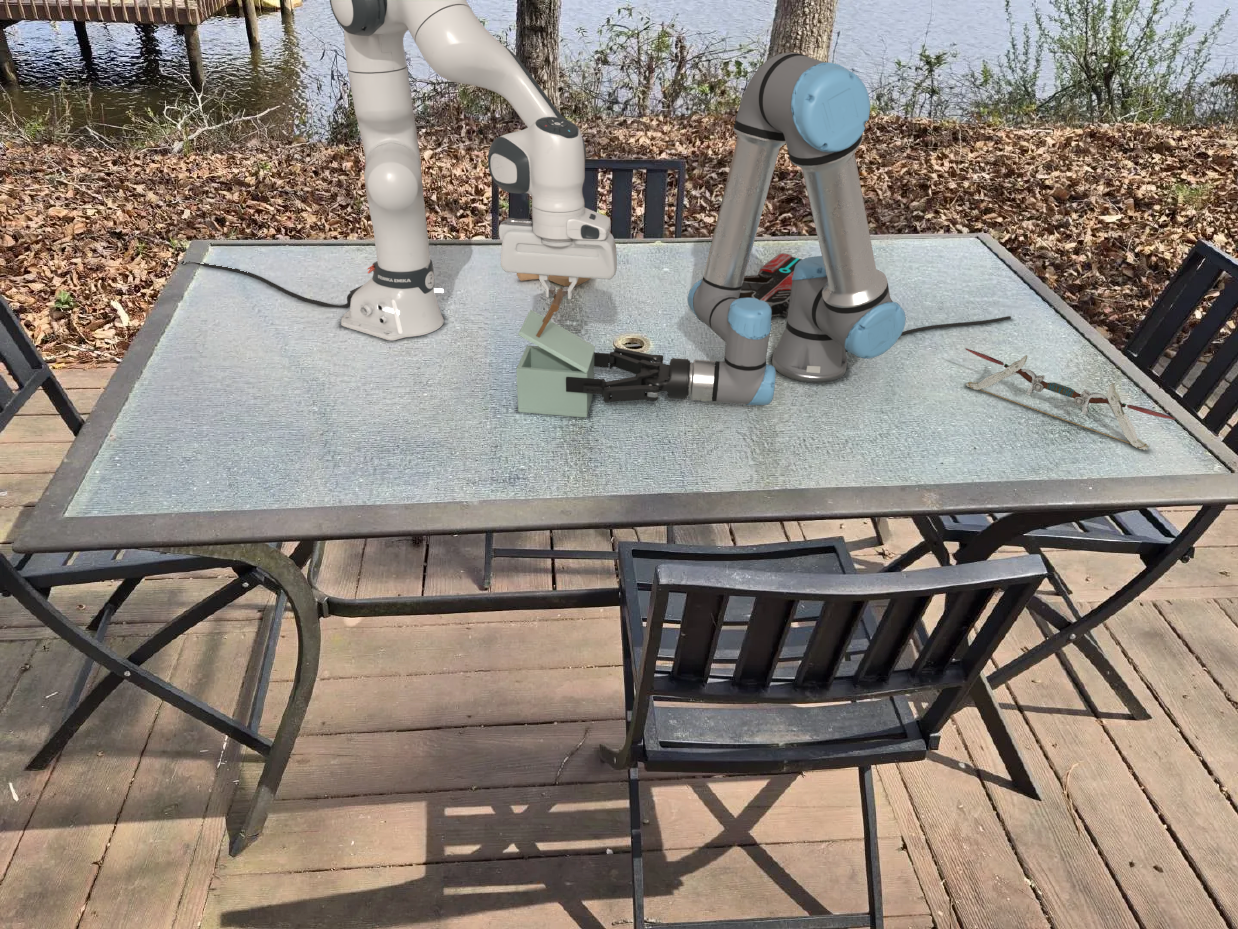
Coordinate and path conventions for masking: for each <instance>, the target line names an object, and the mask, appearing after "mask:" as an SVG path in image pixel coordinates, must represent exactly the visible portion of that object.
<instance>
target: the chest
mask: <svg viewBox="0 0 1238 929" xmlns="http://www.w3.org/2000/svg"><path fill="white" fill-rule="evenodd" d="M518 362H519V363H518V365H517V367H516V368H515V370H516V371H515V372H516V391H517V392H516V394H517V412H518V413H525V414H537V415H538V414H539V415H550V416H561V417H576V418H588V415H589V411H590V408H591V404H592V401H593V397H594V394H590V393H578V392H566V377H578V378H592V379H595V367H594V353H593V356H592V359H591V363H590V366H589V369H588V371H587V373H585V372H583V371H581V370H579V369H578V368H576V367H574V366H572V365H570V364H569V363H567V362H565V361H563V360H562V359H560V358H558V357H556V356H555V355H553V354H551V353H549V352H547V351H546V350H544V349H542V348H540V347H539V346H537V345H526V347H525V349H524V351H523V354H522V356H521V358H520V359H519V361H518Z"/></svg>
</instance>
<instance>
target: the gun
mask: <svg viewBox="0 0 1238 929" xmlns="http://www.w3.org/2000/svg"><path fill="white" fill-rule="evenodd" d="M800 260H802V258H799V257H795V256H793V255H792V254H791V253H784V252H780V253H778V254H777V255H775V256H774V257H773V258H771V259H770V260H768V261H767V262H766V263H765V264H763V265H762V266H761V267H760V269H759V271H758V273H757V274H756V275H753V274H752V275H751V274H750V275H745V277H744V280H743V284H742V287H741V292H740V295H739V299H740V298H756V299H758V300H761V301H765V302H766V303H768V304H769V306H770V307H771V310H772V314H771V318H772V317H777V316H780V317H784V318H787V315H788V308H789V301H790V294H791V287H792V277H793V273H794V269H795V266H796V264H797V263H798V262H799V261H800Z"/></svg>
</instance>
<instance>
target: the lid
mask: <svg viewBox="0 0 1238 929" xmlns="http://www.w3.org/2000/svg"><path fill="white" fill-rule="evenodd" d="M563 289H564V288H563V287H562V288H558V289H557V291H556V296H555V298H552V301H551V304H550V307H549V309H548V311H547V312H546V314H545V315H544V316H543V315H541V313H540V314H539V313H538V312H536V311H534V310H533V309H529V311H528V313H527V315H526V318H525V320H524V322H523V324H522V326H521V328H520V330H519V332H518V336H519V337H521V338H523V339H525V340H526V341H528V342H530V343H531V344H533V345H534V346H539V347H540V348H542V349H544V350H546V351H547V352H549V353H551V354H553V355H555V356H556V357H558V358H560V359H562V360H563V361H565V362H567V363H569V364H570V365H572V366H574V367H576V368H578V369H579V370H581V371H583V372H585V373H587V371H588V369H589V366H590V363H591V359H592V356H593V353H594V352H595V349H596V345H594V344H592V343H590V342H589V341H587V340H585V339H583V338H581V337H580V336H578V335H576V334H575V333H573V332H571V331H569V330H567V329H566V328H564V327H563V326H561V325H559V324H558V323H556V322H553V321H552V320H551V319H552V317H553V315H554V313H557V312H559V310H560V308H561V305H562V303H563V300H564V299H563Z"/></svg>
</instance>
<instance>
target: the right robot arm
mask: <svg viewBox="0 0 1238 929" xmlns="http://www.w3.org/2000/svg"><path fill="white" fill-rule="evenodd" d="M870 113H871V101H870V94H869V91H868V89H867V87H866V85H865V83H864V81H862V79H861V78H860V77H859V76H858V75H857V74H856V73H854V72H853V71H851V70H849V69H848V68H846V67H844V66H843V65H840V64H838V63H834V62H826V61H822V60H819V59H816V58H813V57H811V56H807V55H805V54H803V53H798V52H783V53H779V54H776V55H775V56H773V57H770V58H768V60H766V61H765V62H763V64H761V65H760V66H759V68H758V69H757V70H756V71H755V73H754V74H753V76H752V77H751V79H750V80H749V81H748V84H747V86H746V88H745V90H744V93H743V95H742V98H741V101H740V104H739V106H738V110H737V113H736V117H735V121H734V125H733V129H732V130H733V132H734V133H735V135H736V141H735V146H734V149H733V154H732V159H731V162H730V166H729V171H728V174H727V179H726V182H725V187H724V190H723V195H722V198H721V202H720V207H719V211H718V214H717V219H716V221H715V222H716V223H715V227H714V230H713V235H712V238H711V243H710V247H709V251H708V256H707V260H706V264H705V267H704V271H703V275H702V279H699V280H698V281H696V282H695V283H694V284H693V286H692V287H691V289H689V291H688V295H687V304H688V307H689V310H690V311H691V312H692V313H693V314H694V315H695V317H696V318H697V319H698V320H699V321H700V322H701V323H703V324H704V325H706V326H707V327H708V328H709V329H711V331H712V332H713V333H714V334H716V336H718V337H719V338H720V339H721V340H722V341H723V342H724V343H725V348H724V359H723V361H722V360H721V361H719V360H709V359H694V360H693V362H691V360H690V359H689V358H678V357H671V359H670V360H669V364H666V363H664V355H663V354H651V353H646V352H642V351H641V352H640V351H636V350H630V349H625V348H621V347H614V349H613V350H614V351H610V352H609V353H606V352H595V351H594V368H605V369H609V370H612V369H613V368H617V369H619V370H622V371H625V372H628V373H631V374H633V375H634V376H631V377H624V378H619V379H614V380H608V381H606V379H604V378H602V379H601V378H594V379H592V378H578V377H566V392H578V393H590V394H593V395H600V396H601V397H602V398H603V402H605V403H616V402H631V401H632V402H635V401H651V402H658V401H659V393H665V392H666V393H667V398H668V399H671V400H683V401H684V400H687V399H688V397H690V400H691V401H701V402H703V403H705V402H712V403H713V402H714V403H715V402H716V403H724V404H736V405H737V404H738V405H745V406H767V405H770V404H771V403H772V402H773V399H774V395H775V388H776V377H777V376H776V375H777V372H778V373H779V374H780V375H782V376H784V377H786V378H789V379H791V380H794V381H798V382H802V383H808V384H809V383H810V384H824V383H830V382H835V381H837V380H839V379H841V378H842V377H844V376H845V374H846V372H847V367H848V357H847V353H849V354H851V355H854V356H855V357H857V358H860V359H864V360H865V359H866V360H867V359H869V360H870V359H873V358H877V357H879V356H881V355H883V354H884V353H886V352H888V351H889V350H890V349H891V348H892V347H893V346H895V344H896V343H898V342H897V341H898V340H899V338H900V337H901V336H906V335H908V334H913V333H916V332H917V333H918V332H922V331H927V330H934V329H941V328H951V327H962V326H972V325H973V326H974V325H984V324H990V323H996V322H1002V321H1008V320H1011V318H1012V317H1011V315H1007V316H1003V317H997V318H991V319H984V320H974V321H963V322H962V321H961V322H953V323H943V324H942V323H941V324H933V325H926V326H922V327H916V328H915V327H914V328H912V329H911V328H910V329H908V330H904V329H905V327H906V321H907V320H906V319H907V316H906V311H905V310H904V309H903V307H902V306H901V305H900V304H899V302H896V301H893V299H892V298H891V294H890V289H889V281H888V278H887V276H886V274H885V273H884V272H883V271H882V270H879V269H877V266H876V261H875V255H874V251H873V245H872V240H871V234H870V229H869V222H868V218H867V217H868V216H867V213H866V207H865V201H864V197H863V196H864V195H863V191H862V186H861V180H860V173H859V169H858V163H857V158H856V152H857V150H858V149H859V148H860V147H861V145H862V142H863V136H862V135H863V134H864V132H865V130H866V126H865V125H866V123H867V122H868V121H869V119H870ZM785 145H786V149H787V152H788V158H789V160H790V162H791V164H793V165H794V166H795V167H798V168H800V169H801V172H802V175H803V179H804V183H805V188H806V192H807V197H808V202H809V206H810V210H811V214H812V219H813V223H814V228H815V231H816V236H817V240H818V245H819V249H820V253H821V255H817V256H816V255H815V256H809V257H805V258H803V259H802V258H801V259H802V260H800V261H799V262H798V263H797V264H796V266H795V269H794V273H793V277H792V287H791V294H790V301H789V308H788V310H787V311H788V315H787V317H786V324H785V329H784V331H783V333H782V334H781V337H780V339H779V341H778V343H777V345H776V347H775V348H774V351H773V353H772V360H771V364H768V363H767V354H768V349H769V341H770V335H771V331H772V317H771V314H772V310H771V307H770V306H769V304H768V303H766V302H765V301H761V300H758V299H756V298H740V299H739V295H740V292H741V287H742V284H743V280H744V277H745V276H746V273H747V269H748V266H749V262H750V258H751V255H752V251H753V248H754V244H755V240H756V236H757V233H758V229H759V226H760V222H761V219H762V215H763V211H764V207H765V204H766V200H767V196H768V193H769V189H770V185H771V182H772V179H773V176H774V173H775V172H774V171H775V168H776V164H777V160H778V156H779V153H780V149H781V147H783V146H785ZM776 371H777V372H776Z"/></svg>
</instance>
